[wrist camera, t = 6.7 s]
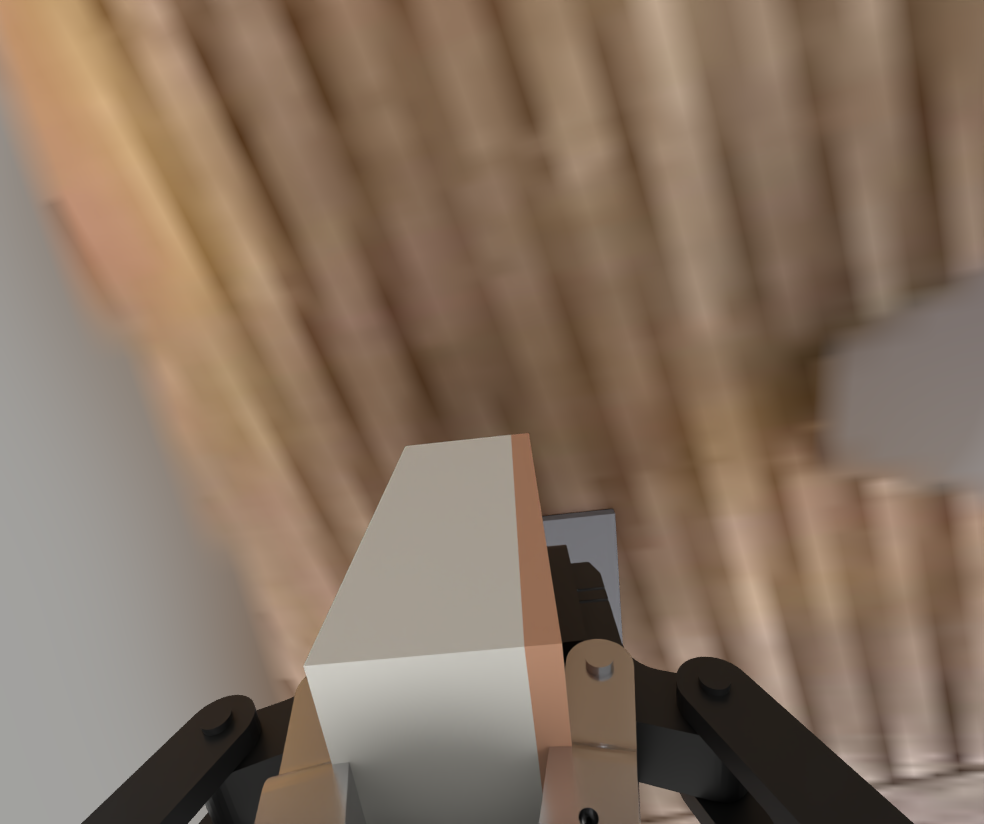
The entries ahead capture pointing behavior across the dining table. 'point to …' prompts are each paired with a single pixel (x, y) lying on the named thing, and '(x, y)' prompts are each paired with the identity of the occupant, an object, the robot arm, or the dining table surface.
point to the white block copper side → (447, 643)
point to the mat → (590, 547)
